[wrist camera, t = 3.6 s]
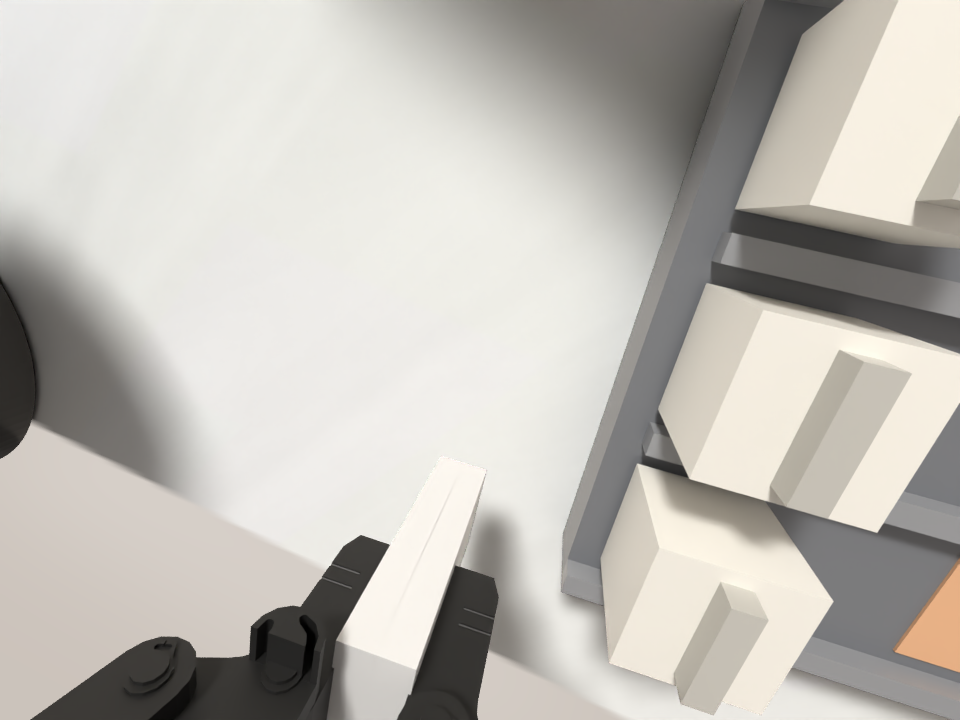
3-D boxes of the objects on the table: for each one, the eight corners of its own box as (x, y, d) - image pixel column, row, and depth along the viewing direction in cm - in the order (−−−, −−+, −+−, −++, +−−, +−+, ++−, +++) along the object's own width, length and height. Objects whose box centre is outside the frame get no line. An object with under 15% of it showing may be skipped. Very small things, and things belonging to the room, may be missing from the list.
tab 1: (734, 209, 12) (833, 203, 7) (802, 34, 11) (971, -103, 6) (895, 243, 11) (1105, 259, 7) (987, 64, 10) (1320, -59, 6)
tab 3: (600, 558, 16) (611, 692, 11) (636, 463, 15) (665, 572, 10) (715, 594, 15) (774, 749, 11) (763, 499, 14) (853, 631, 10)
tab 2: (658, 409, 14) (698, 499, 9) (706, 283, 13) (781, 318, 8) (792, 445, 13) (902, 559, 9) (856, 318, 12) (1026, 377, 8)
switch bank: (563, 533, 19) (560, 592, 16) (743, 3, 13) (796, -63, 10) (1030, 678, 17) (1129, 777, 14) (1525, 129, 11) (1902, 93, 8)
